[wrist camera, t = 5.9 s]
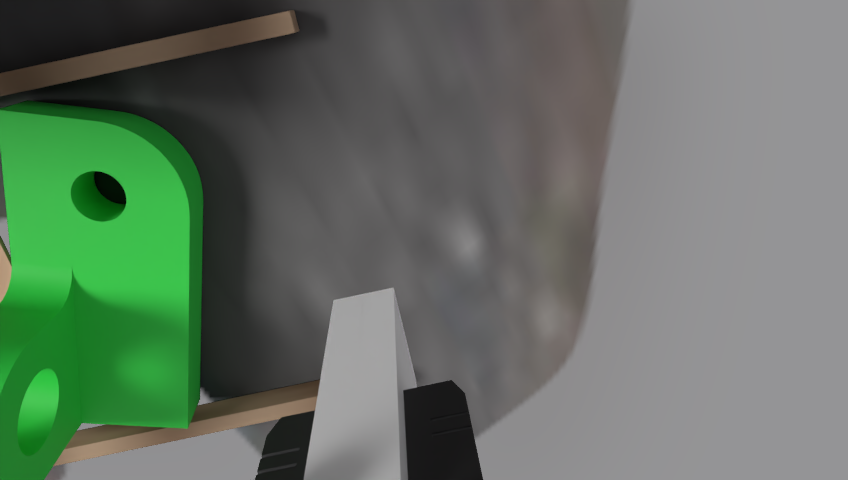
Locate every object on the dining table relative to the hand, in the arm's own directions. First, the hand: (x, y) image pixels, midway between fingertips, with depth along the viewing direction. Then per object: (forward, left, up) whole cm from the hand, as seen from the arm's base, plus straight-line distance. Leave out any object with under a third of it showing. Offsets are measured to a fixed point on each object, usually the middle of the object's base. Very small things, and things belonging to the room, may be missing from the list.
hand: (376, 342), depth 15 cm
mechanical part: (-10, 0, -10) cm, 14 cm away
